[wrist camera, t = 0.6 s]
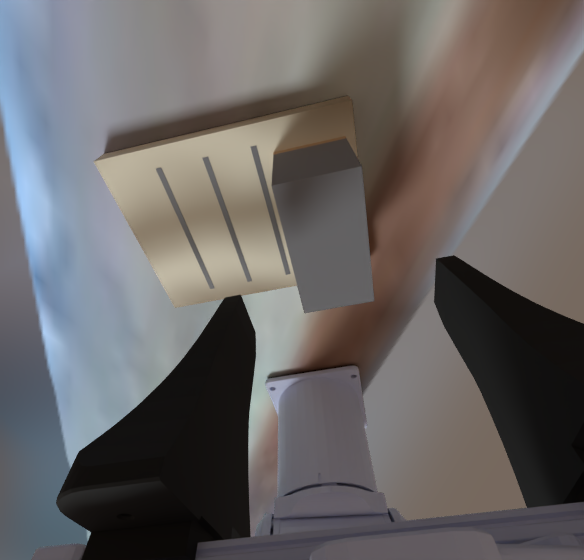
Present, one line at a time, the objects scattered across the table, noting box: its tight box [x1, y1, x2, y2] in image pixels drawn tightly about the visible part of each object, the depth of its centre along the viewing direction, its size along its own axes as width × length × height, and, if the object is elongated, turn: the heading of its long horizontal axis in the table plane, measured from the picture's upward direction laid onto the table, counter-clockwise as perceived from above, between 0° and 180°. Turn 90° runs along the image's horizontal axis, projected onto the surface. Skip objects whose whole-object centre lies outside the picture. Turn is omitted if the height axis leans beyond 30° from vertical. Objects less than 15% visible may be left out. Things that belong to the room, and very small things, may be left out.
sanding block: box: [271, 136, 374, 313], centre depth 17 cm, size 7×4×4 cm, turn 12°
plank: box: [94, 96, 358, 308], centre depth 20 cm, size 10×13×1 cm
